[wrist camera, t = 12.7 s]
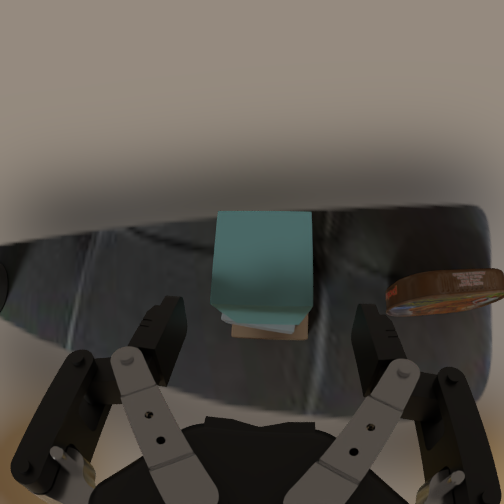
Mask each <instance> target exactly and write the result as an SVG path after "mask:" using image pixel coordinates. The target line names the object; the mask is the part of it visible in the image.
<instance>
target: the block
mask: <svg viewBox="0 0 504 504" xmlns="http://www.w3.org/2000/svg"><path fill="white" fill-rule="evenodd" d="M210 304H211V305H213V306H214V307H215V308H217V309H218V310H219V311H221V312H222V313H224V314H225V315H226V316H228V317H229V318H230V319H232V320H233V321H235V322H236V323H245V324H276V325H299V324H300V323H301V322H302V320H303V319H304V318H305V316H306V315H307V314H308V312H309V311H310V310H311V308H312V307H313V246H312V214H311V212H293V211H218V217H217V227H216V238H215V249H214V260H213V272H212V285H211V298H210Z"/></svg>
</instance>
